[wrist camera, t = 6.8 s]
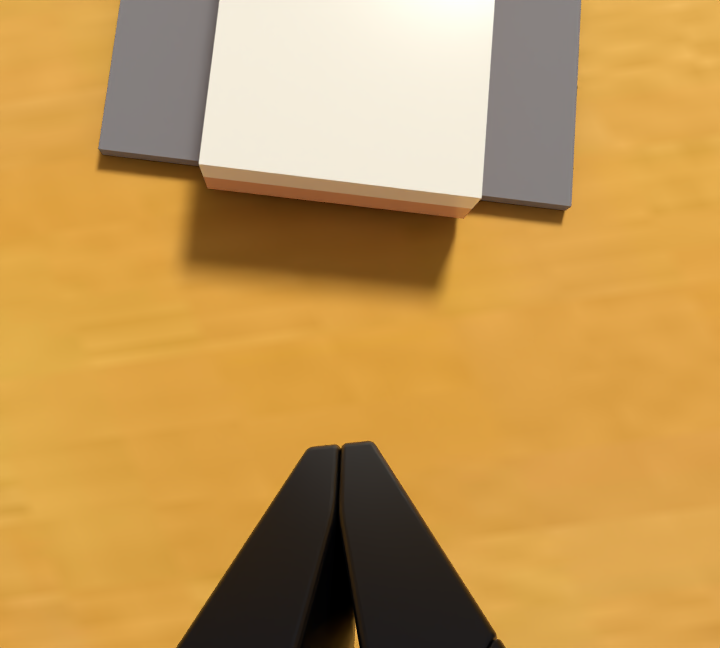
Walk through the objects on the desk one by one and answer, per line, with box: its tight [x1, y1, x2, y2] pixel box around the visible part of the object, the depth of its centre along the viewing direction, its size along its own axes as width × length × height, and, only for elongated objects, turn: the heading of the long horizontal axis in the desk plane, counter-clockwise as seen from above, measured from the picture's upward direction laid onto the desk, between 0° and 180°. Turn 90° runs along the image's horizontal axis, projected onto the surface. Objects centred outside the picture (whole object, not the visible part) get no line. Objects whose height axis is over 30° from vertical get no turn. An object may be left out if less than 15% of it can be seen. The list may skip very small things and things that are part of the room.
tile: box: [199, 0, 495, 219], centre depth 18 cm, size 2×7×10 cm
